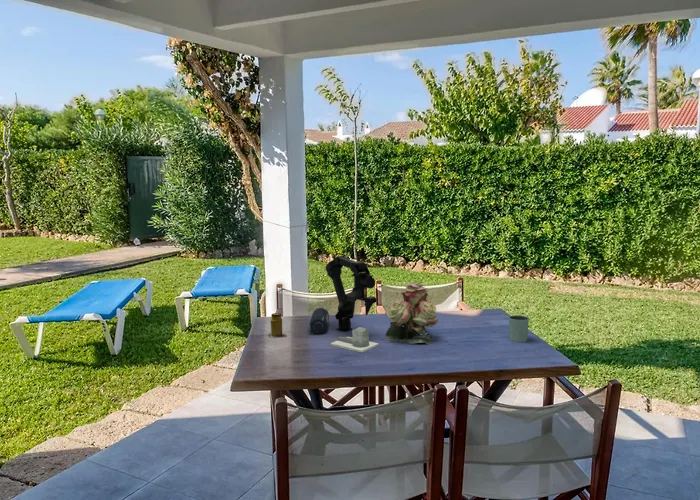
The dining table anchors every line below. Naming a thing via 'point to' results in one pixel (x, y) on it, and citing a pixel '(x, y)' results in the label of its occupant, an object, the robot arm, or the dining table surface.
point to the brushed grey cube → (360, 335)
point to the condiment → (276, 326)
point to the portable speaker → (319, 320)
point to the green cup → (518, 328)
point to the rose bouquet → (411, 316)
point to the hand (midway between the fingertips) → (359, 313)
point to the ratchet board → (349, 346)
